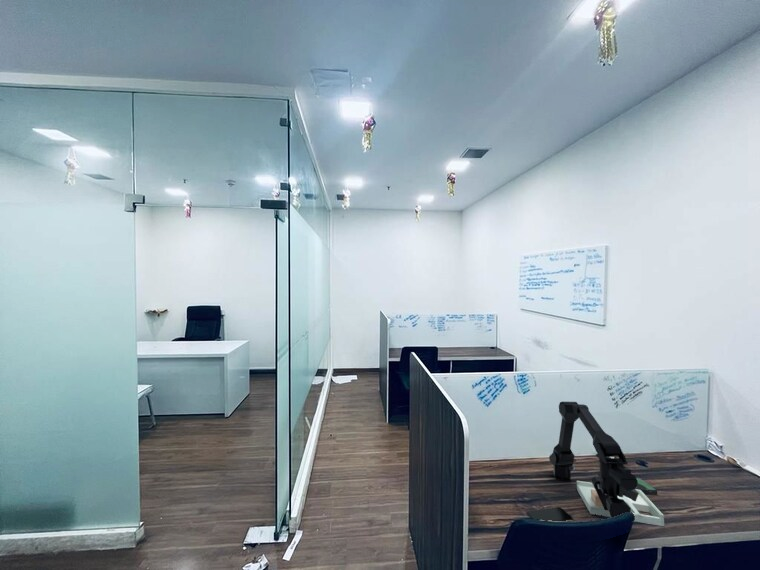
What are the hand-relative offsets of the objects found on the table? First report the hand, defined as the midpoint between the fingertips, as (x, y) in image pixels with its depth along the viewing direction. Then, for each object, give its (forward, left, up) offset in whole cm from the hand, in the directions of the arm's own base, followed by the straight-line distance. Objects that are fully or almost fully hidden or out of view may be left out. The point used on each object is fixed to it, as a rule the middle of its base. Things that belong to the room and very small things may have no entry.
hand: (611, 517), depth 115 cm
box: (+7, +15, -3) cm, 16 cm away
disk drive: (+19, +32, -4) cm, 38 cm away
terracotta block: (0, +11, -1) cm, 11 cm away
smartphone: (-21, -1, -4) cm, 21 cm away
